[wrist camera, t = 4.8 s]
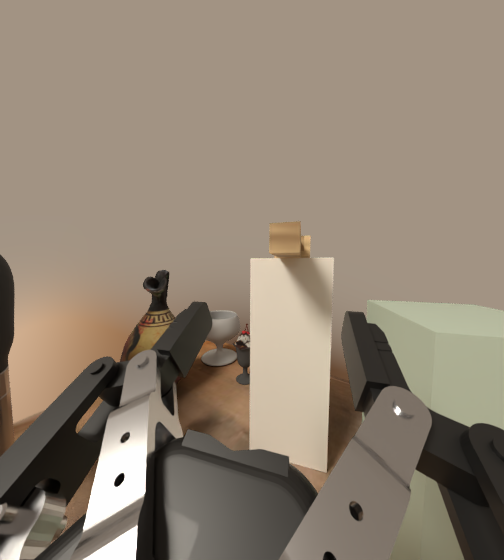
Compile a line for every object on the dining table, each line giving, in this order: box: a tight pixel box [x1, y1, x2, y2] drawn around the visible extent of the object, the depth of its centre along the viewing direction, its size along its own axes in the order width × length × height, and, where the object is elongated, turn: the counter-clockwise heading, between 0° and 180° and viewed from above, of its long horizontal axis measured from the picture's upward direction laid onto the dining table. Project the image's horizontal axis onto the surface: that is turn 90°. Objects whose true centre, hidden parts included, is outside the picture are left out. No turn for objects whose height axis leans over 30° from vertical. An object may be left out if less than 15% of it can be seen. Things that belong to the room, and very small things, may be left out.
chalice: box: [201, 311, 240, 366], centre depth 62 cm, size 14×14×15 cm
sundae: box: [233, 324, 250, 385], centre depth 50 cm, size 7×7×15 cm
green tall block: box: [362, 300, 504, 560], centre depth 19 cm, size 14×12×26 cm
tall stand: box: [250, 258, 334, 473], centre depth 35 cm, size 14×12×32 cm
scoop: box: [269, 222, 310, 258], centre depth 29 cm, size 22×6×4 cm, turn 165°
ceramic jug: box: [120, 270, 181, 384], centre depth 46 cm, size 17×15×30 cm
